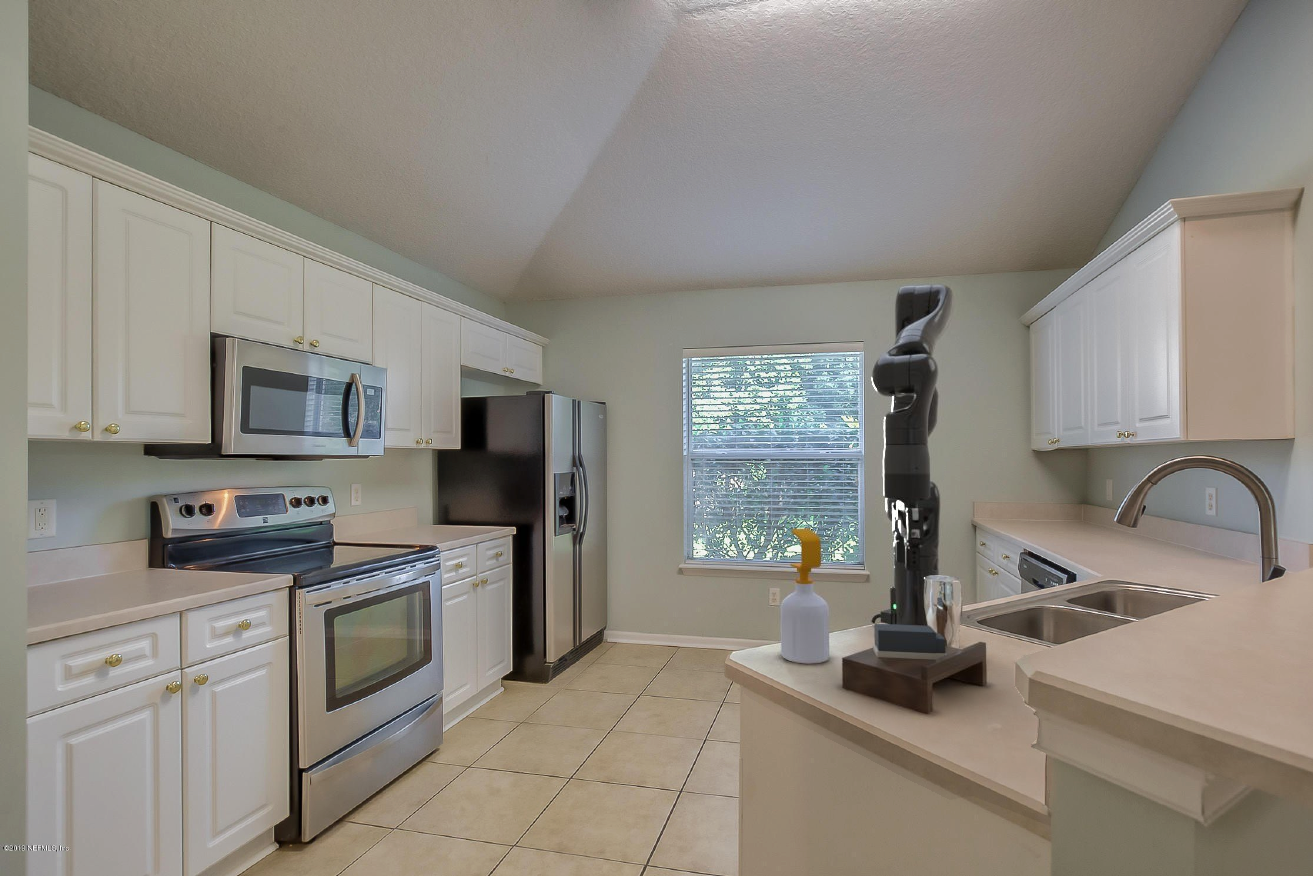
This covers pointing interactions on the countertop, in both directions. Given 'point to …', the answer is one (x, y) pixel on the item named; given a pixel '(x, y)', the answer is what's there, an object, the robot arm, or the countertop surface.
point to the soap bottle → (805, 609)
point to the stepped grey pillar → (908, 642)
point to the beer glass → (944, 606)
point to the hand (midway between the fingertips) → (907, 566)
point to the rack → (912, 674)
